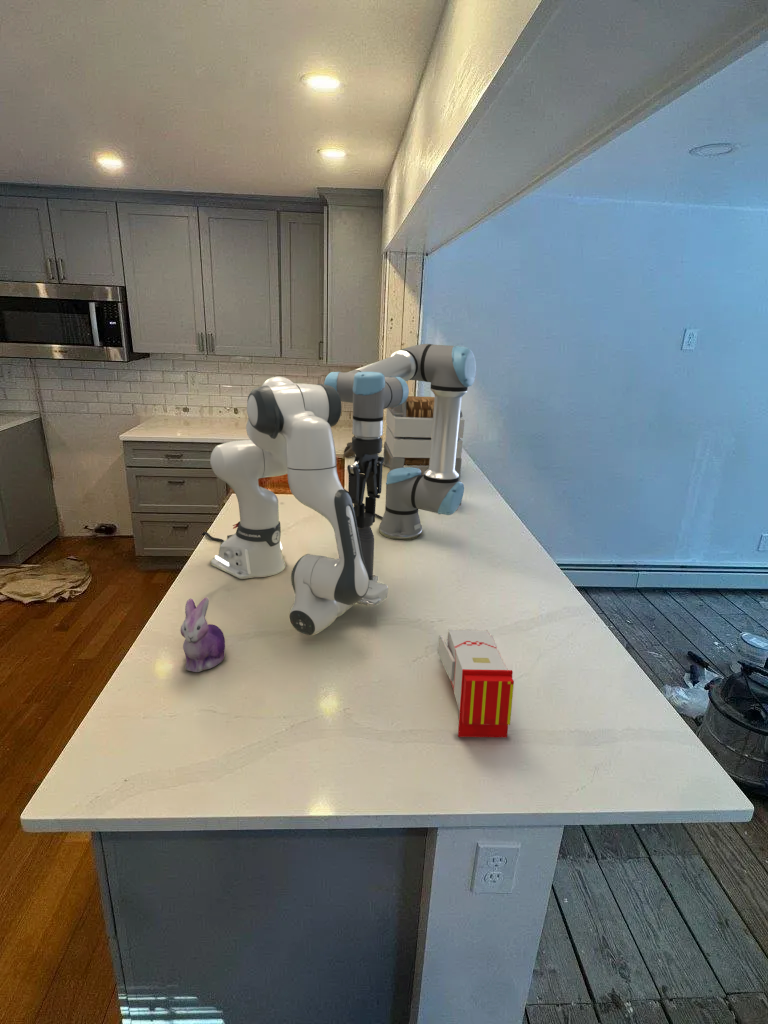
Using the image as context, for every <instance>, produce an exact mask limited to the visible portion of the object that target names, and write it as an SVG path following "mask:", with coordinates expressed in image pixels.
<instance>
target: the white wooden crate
mask: <svg viewBox="0 0 768 1024" xmlns="http://www.w3.org/2000/svg"><path fill="white" fill-rule="evenodd" d="M434 398H435V396H415V395H414V396H413V395H412V396H411V395H408V398H407V399H406V401H405V402H404V403H402V404H400V405H398V406H396V407H390V408H386V413H385V414H386V415H385V423H386V428H385V438H384V442H383V457H384V462H383V466H384V467H388V468H389V472H390V471H391V470H393V469H397V468H405V466H406V467H409V466H411V467H417V466H418V467H429V460H430V448H431V435H432V423H433V411H434ZM464 429H465V419H464V418H463V411H462V410H461V411H460V422H459V432H458V443H457V453H456V463H455V471H456V472H457V473H458V474H459V482H461V472H462V461H463V460H462V453H463V442H464V441H463V440H462V439H463V438H464V431H465V430H464Z"/></svg>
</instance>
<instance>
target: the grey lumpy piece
mask: <svg viewBox="0 0 768 1024" xmlns="http://www.w3.org/2000/svg"><path fill="white" fill-rule="evenodd" d="M355 456H356V454H355V453H354V452H353V451H352V441H350V442H347V443H346V446H345V448H344V450H343V457H344V458H348V459H349V458H351V457H355Z"/></svg>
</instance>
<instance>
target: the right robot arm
mask: <svg viewBox="0 0 768 1024" xmlns="http://www.w3.org/2000/svg"><path fill="white" fill-rule="evenodd" d="M476 376H477V363H476V357H475V355H474V352H473V350H472V349H471V348H469V347H466V346H461V345H449V344H447V345H446V344H432V343H419V344H416V345H411V346H408V347H405V348H401V349H398V350H396V351H394V352H393V353H392V354H391V355H390V356H389V357H387V358H386V357H385V358H383V359H381V360H378V361H375V362H373V363H369V364H366V365H364V366H361V367H358V368H356V369H352V370H350V371H346V372H341V371H331V372H329V373H328V374H327V375H326V377H325V378H324V383H323V384H324V385H328V386H331V387H333V388H334V389H335V390H336V391H337V393H338V394H339V396H340V399H341V403H342V402H343V403H349V404H350V403H352V430H351V431H352V435H353V436H352V437H351V442H352V451H353V452H354V453H355V455H354V461H353V464H347V467H346V468H347V474H348V486H347V487H348V490H347V489H345V488H344V487H343V489H344V490H345V491H346V492H347V493H348V494H349V495H350V497H351V500H352V503H353V507H354V512H355V516H356V522H357V527H359V528H364V512H367V513H371V514H373V524H374V523H375V522H376V518H378V519H380V520H381V522H379V525H378V533H379V534H380V535H381V536H382V537H385V538H387V539H389V540H395V541H410V540H415V539H418V538H420V537H421V536H422V535H423V525H422V524H421V518H420V515H419V510H421V511H426V512H429V513H435V514H438V515H445V516H451V515H453V514H454V513H456V511H457V510H458V509H459V507H460V506H461V505H460V503H461V504H462V500H463V497H464V493H465V485H464V483H463V482H461V481H460V482H459V474H458V473H457V472H456V471H455V463H456V453H457V443H458V432H459V422H460V411H461V412H462V401H463V400H462V399H463V396H464V395H466V394H467V393H468V388H470V387H472V386H473V385H474V383H475V379H476ZM409 381H418V382H424V383H425V382H426V383H430V391H431V392H432V393H433V394H434V397H435V398H434V411H433V423H432V435H431V448H430V460H429V465H428V468H427V469H426V470H424V471H423V474H422V470H421V468H419V467H414V466H411V467H409V466H406V467H405V466H404V468H397V469H393V470H391V471H390V470H389V471H388V473H387V475H386V480H385V504H384V505H385V507H384V508H385V509H384V513H383V515H382V516H381V515H380V514H378V513H376V504H377V503H376V502H377V501H376V500H377V499H378V500H379V499H380V497H381V494H382V488H383V487H382V485H383V466H384V464H383V463H384V456H379V454H380V453H381V452H382V451H383V438H382V436H383V434H384V410H385V409H386V410H387V408H390V407H396V406H398V405H400V404H402V403H404V402H405V401H406V399H407V398H408V396H409V392H410V388H409V386H408V383H407V382H409ZM365 491H366V493H367V496H366V497H365ZM364 498H365V500H364ZM459 505H460V506H459Z"/></svg>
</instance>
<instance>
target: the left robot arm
mask: <svg viewBox="0 0 768 1024" xmlns="http://www.w3.org/2000/svg"><path fill="white" fill-rule="evenodd" d="M246 414H247V417H248V418H247V421H246V426H245V429H246V434H247V437H248V439H242V440H241V439H240V440H231V441H228V442H223V443H220V444H217V445H215V447H214V448H213V449H212V451H211V454H210V459H209V461H210V462H209V463H210V468H211V470H212V472H213V474H214V475H215V476H216V477H217V478H218V479H219V480H221V481H223V482H224V483H226V484H227V485H228V486H229V487H230V488H231V489H232V491H233V492H234V494H235V496H236V498H237V503H238V511H239V521H238V522H237V523H235V524H232V526H233V527H232V529H233V530H235V529H236V530H235V533H233V534H228V535H227V537H226V539H225V540H224V539H222V538H218V537H215V536H212V535H211V534H210V533H209V532H207V531H203V532H202V533H201V536H206V537H207V538H208V539H210V540H211V541H214V542H219V543H221V544H220V546H219V548H218V554H217V555H214V557H213V558H212V559H211V561H210V565H211V566H212V567H215V568H217V569H219V570H221V571H223V572H225V573H226V574H227V573H228V574H229V575H231V576H233V577H235V578H237V579H239V580H247V579H250V578H266V577H271V576H275V575H277V574H279V573H281V572H283V571H284V570H285V568H286V563H285V559H284V557H283V551H282V550H283V545H282V542H281V535H282V530H281V529H282V528H281V521H280V514H279V513H280V512H279V511H280V510H279V498H278V497H277V495H276V494H275V492H274V491H272V490H270V489H268V488H266V487H262V486H260V484H259V479H265V478H275V477H282V476H285V475H287V484H288V488H289V490H290V493H291V494H292V495H293V497H294V498H295V499H296V500H297V501H298V502H299V503H301V504H302V505H304V506H305V507H307V508H310V509H311V510H313V511H315V512H316V513H318V514H319V515H321V516H322V517H324V519H326V520H327V522H329V523H330V526H331V527H332V529H333V532H334V539H335V543H336V549H337V554H338V557H337V558H336V557H332V556H331V557H330V556H327V555H321V554H311V553H305V554H304V555H302V556H301V557H300V558H299V559H298V560H297V561H296V563H295V565H294V566H293V568H292V570H291V574H290V581H291V587H292V590H293V593H294V600H293V604H292V606H291V608H290V611H289V614H288V618H289V622H290V624H291V626H292V627H293V628H294V629H295V630H296V631H297V632H299V633H300V634H302V635H306V636H313V635H317V634H319V633H321V632H322V631H324V630H325V629H327V628H328V627H329V626H330V625H332V624H333V623H334V622H335V621H336V620H337V618H339V617H341V616H342V615H343V614H345V613H346V612H347V611H348V610H350V608H352V607H353V606H354V605H355V604H359V605H363V606H366V607H375V606H377V605H379V604H381V603H382V602H384V601H385V600H387V599H388V596H389V587H388V584H386V583H383V582H378V580H379V576H378V575H375V574H373V575H372V576H370V580H369V574H368V571H367V568H366V565H365V562H364V559H363V555H362V549H361V544H360V538H359V533H358V527H357V522H356V516H355V512H354V504H353V503H352V500H351V497H350V495H349V494H348V493H347V492H346V491H345V490H346V489H345V488H344V487H343V485H342V482H341V481H340V478H339V474H338V467H337V454H336V446H335V439H334V435H333V429H332V427H334V426H336V425H337V424H338V422H339V421H340V418H341V415H342V401H341V399H340V396H339V394H338V393H337V391H336V390H335V389H334V388H333V387H331V386H328V385H324V383H316V384H313V383H299V382H298V383H296V382H295V383H294V382H293V381H292V380H290V379H289V378H287V377H284V376H279V375H277V376H276V375H275V376H272V377H269V378H268V379H265V381H264V382H263V383H262V385H261V386H258V387H255V388H254V389H252V390H250V392H249V394H248V396H247V401H246ZM343 488H344V489H345V490H344V489H343Z"/></svg>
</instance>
